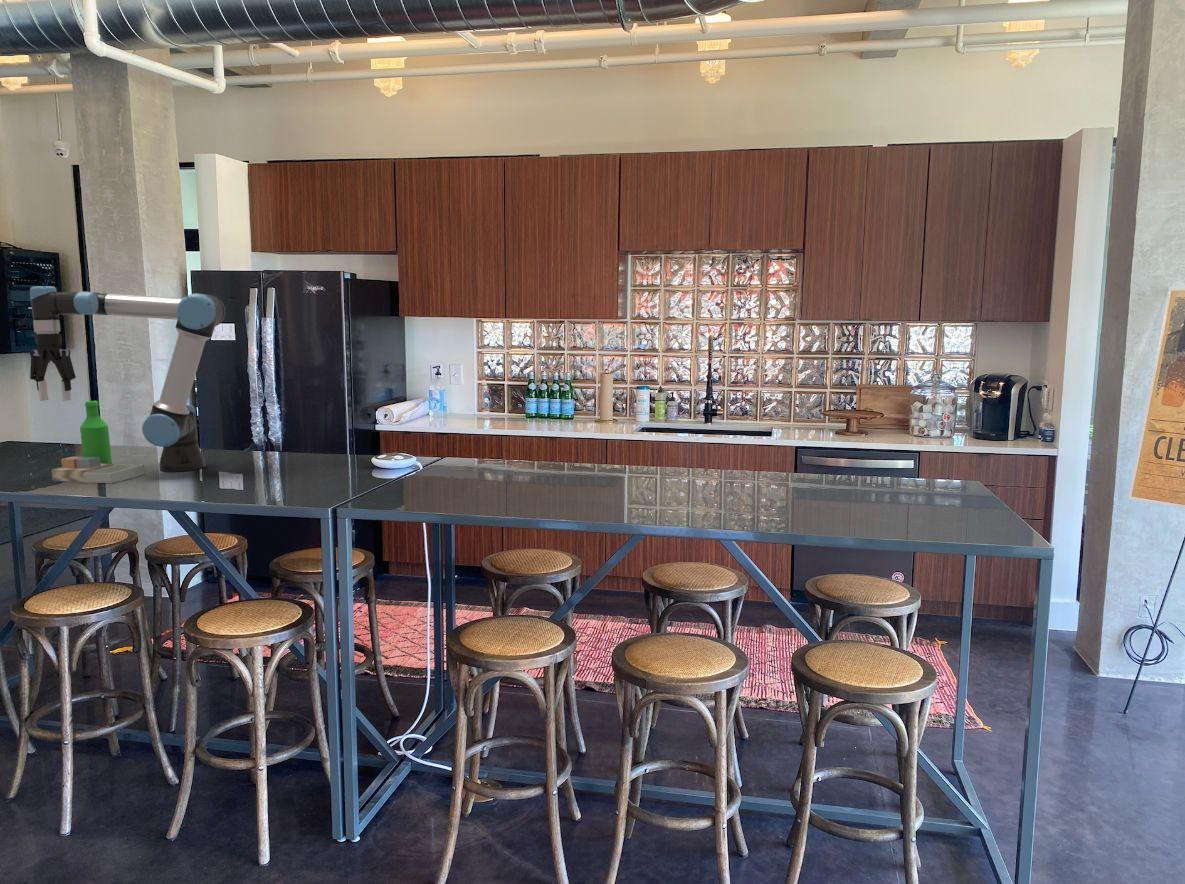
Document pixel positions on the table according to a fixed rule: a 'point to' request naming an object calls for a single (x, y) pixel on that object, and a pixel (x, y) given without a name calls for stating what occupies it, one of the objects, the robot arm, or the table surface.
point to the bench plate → (73, 473)
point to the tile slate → (88, 462)
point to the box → (113, 473)
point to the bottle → (95, 435)
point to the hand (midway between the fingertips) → (55, 400)
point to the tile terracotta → (70, 462)
